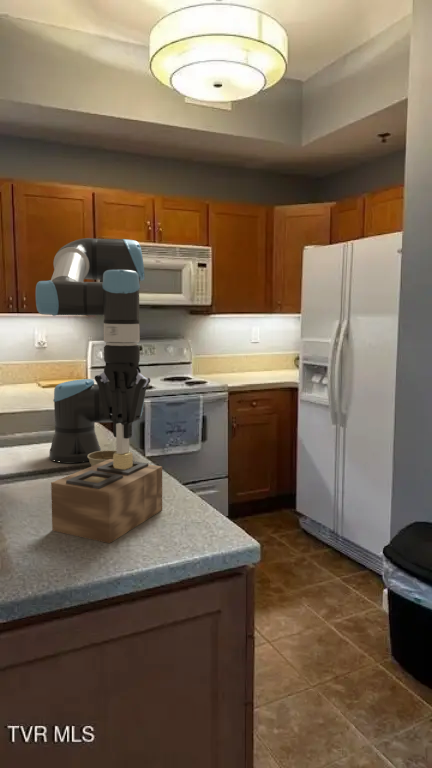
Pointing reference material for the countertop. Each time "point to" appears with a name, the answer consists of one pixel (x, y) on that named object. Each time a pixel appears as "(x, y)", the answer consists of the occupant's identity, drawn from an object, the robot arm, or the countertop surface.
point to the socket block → (106, 500)
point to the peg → (123, 460)
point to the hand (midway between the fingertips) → (122, 452)
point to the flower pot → (100, 456)
